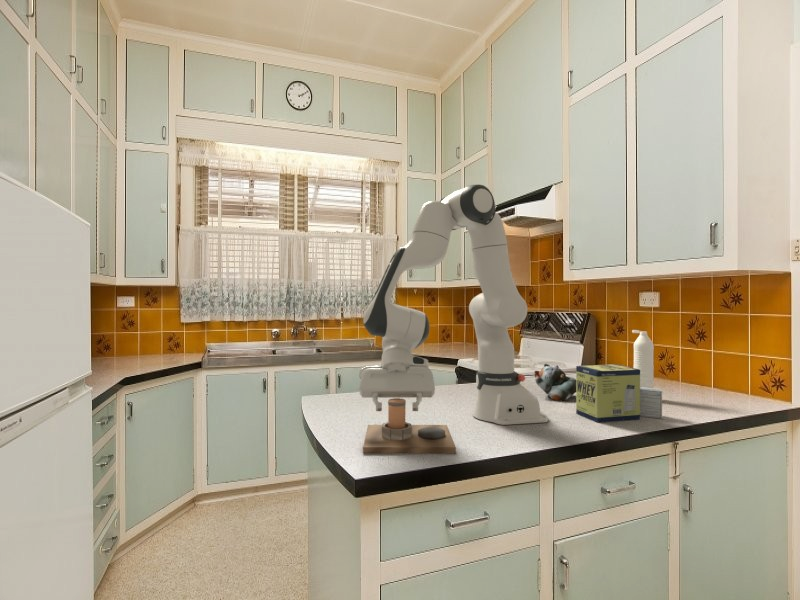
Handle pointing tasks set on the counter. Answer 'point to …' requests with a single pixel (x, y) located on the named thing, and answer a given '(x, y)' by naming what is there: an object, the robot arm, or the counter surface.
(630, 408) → the protein box
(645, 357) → the white pump bottle
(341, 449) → the counter surface
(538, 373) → the grey stuffed animal toy
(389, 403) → the hub peg
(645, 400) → the medicine box
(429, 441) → the carrier board
